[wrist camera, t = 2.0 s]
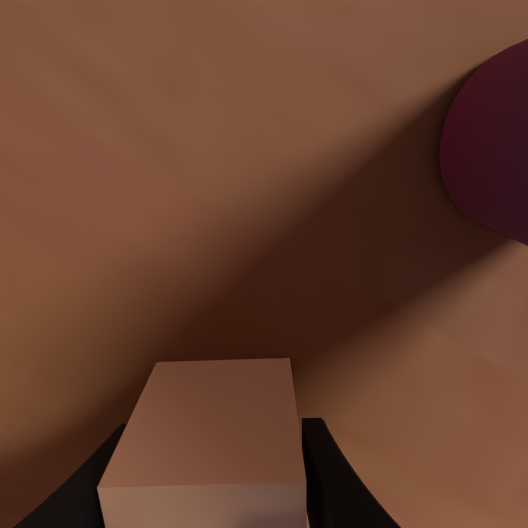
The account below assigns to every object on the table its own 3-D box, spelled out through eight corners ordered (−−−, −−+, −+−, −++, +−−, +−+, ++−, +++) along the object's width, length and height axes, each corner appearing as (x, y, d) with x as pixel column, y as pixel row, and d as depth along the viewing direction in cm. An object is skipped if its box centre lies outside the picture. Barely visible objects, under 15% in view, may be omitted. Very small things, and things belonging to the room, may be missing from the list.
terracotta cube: (290, 462, 14) (305, 621, 10) (170, 466, 14) (126, 626, 10) (289, 357, 13) (306, 481, 8) (156, 361, 13) (97, 488, 8)
